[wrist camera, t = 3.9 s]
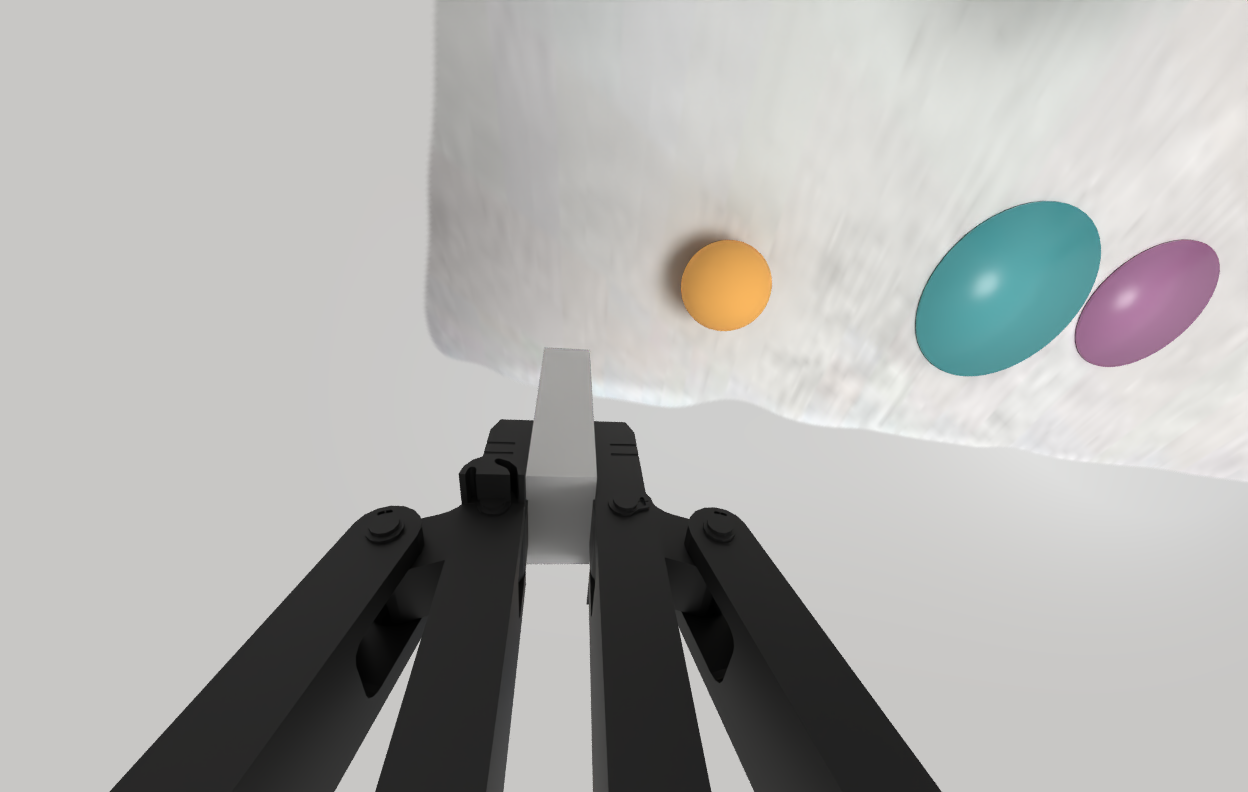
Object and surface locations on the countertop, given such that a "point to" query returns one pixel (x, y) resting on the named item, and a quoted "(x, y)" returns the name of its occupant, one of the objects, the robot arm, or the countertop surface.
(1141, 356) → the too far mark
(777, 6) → the countertop surface
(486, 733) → the robot arm
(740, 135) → the countertop surface
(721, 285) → the ball
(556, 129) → the countertop surface
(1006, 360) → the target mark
